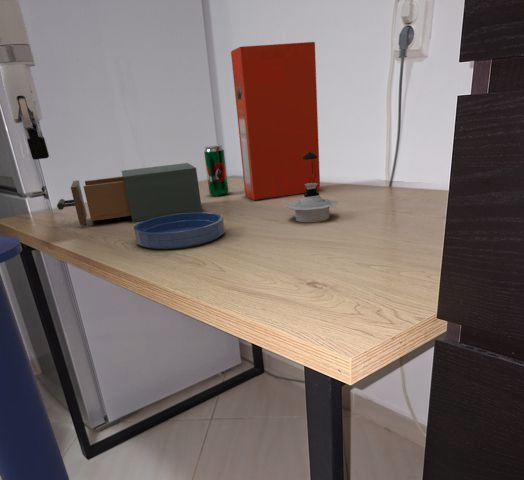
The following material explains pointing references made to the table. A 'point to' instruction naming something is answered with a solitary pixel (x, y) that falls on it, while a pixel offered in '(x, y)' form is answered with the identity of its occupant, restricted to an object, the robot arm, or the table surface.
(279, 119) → the file binder
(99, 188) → the drawer
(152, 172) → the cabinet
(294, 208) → the oil lamp
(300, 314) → the table surface
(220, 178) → the soda can
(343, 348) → the table surface
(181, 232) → the bowl
